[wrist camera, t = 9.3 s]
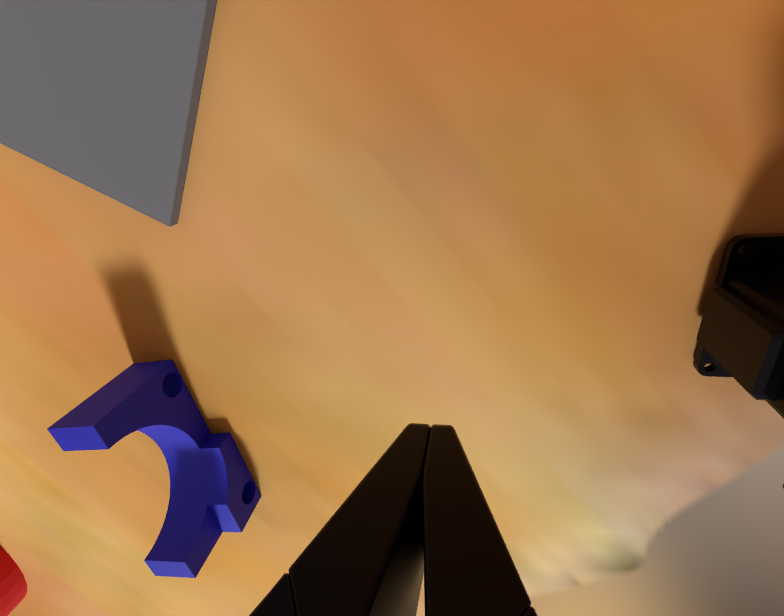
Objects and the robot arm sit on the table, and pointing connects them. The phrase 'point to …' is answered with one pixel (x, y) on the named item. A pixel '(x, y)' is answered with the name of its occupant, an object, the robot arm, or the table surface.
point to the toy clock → (10, 584)
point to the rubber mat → (106, 92)
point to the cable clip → (170, 460)
